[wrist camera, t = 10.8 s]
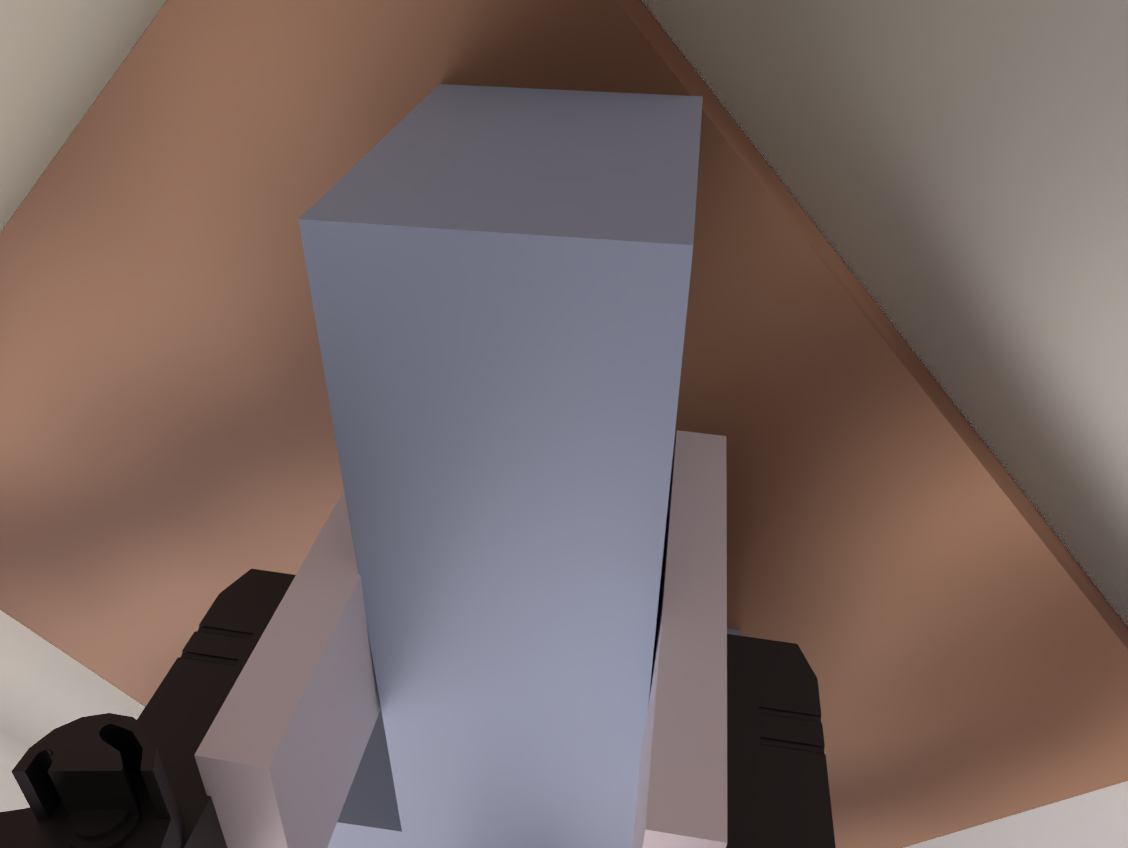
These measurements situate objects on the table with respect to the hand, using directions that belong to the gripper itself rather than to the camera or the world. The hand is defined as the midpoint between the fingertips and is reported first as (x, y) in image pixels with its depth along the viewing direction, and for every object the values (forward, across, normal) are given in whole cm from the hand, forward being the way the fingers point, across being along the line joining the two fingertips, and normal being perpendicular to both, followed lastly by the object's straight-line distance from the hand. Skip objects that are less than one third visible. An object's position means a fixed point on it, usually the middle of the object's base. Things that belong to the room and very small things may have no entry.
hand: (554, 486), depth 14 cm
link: (+1, 0, -5) cm, 5 cm away
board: (+3, -2, -5) cm, 6 cm away
